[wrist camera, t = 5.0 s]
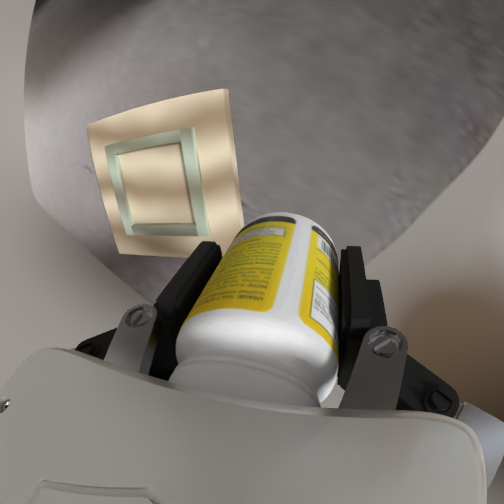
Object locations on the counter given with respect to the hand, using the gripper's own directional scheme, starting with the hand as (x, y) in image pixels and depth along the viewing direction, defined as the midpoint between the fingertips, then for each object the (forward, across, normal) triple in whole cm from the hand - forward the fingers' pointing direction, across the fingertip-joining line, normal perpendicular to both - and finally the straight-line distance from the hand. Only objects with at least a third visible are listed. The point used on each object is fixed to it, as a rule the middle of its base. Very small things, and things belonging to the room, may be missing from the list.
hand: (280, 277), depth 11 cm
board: (+17, +16, 0) cm, 23 cm away
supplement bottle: (+2, 0, 0) cm, 2 cm away
